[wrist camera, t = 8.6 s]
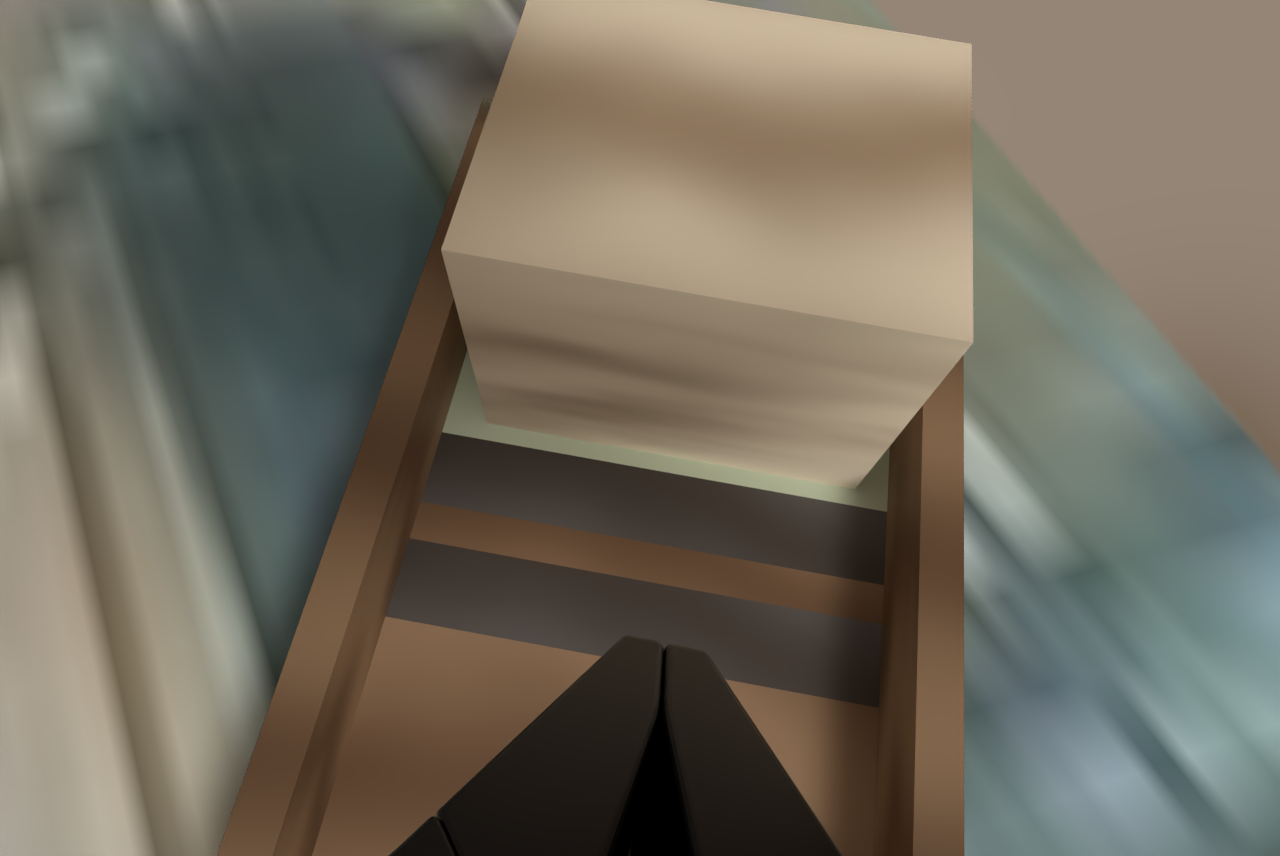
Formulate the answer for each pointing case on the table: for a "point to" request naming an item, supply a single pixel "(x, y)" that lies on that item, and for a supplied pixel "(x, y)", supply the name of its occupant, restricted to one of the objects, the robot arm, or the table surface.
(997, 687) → the table surface
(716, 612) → the channel
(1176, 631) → the table surface
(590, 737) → the robot arm
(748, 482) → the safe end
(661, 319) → the birch block
